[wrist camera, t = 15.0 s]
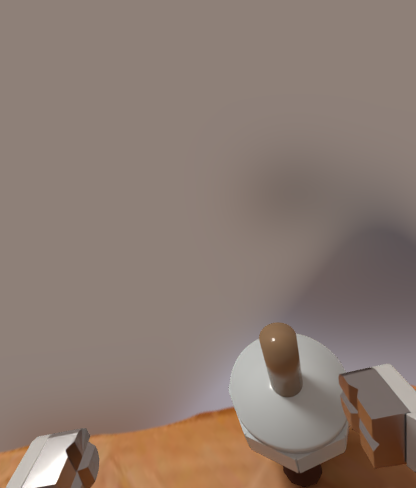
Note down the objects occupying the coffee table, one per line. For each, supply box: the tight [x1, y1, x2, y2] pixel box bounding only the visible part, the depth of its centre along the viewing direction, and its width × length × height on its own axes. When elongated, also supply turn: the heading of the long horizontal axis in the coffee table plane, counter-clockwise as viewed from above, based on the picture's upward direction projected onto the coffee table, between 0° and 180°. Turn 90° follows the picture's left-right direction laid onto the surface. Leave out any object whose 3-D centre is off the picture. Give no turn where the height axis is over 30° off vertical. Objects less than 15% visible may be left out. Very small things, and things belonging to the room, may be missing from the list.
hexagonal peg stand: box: [229, 323, 350, 473], centre depth 35 cm, size 15×15×14 cm
